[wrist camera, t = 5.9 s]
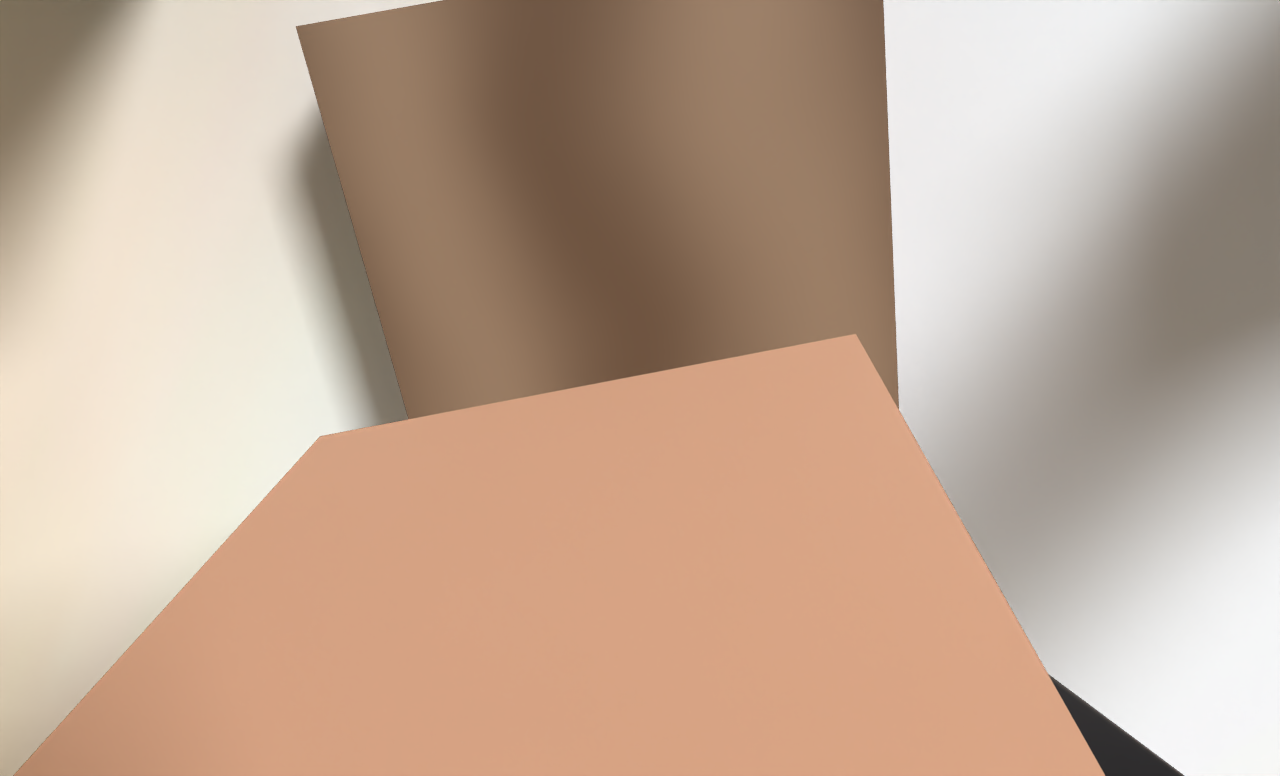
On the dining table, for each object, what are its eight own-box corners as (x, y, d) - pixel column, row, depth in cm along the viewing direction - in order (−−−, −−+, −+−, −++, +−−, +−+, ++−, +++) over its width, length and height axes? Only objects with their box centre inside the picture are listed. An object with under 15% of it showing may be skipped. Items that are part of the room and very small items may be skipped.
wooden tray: (839, -54, 17) (880, -77, 13) (871, 526, 22) (907, 623, 19) (375, 27, 18) (295, 26, 15) (510, 561, 24) (477, 659, 20)
